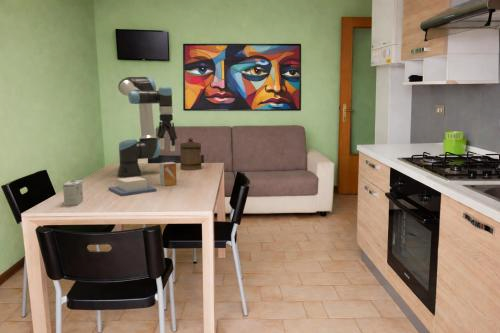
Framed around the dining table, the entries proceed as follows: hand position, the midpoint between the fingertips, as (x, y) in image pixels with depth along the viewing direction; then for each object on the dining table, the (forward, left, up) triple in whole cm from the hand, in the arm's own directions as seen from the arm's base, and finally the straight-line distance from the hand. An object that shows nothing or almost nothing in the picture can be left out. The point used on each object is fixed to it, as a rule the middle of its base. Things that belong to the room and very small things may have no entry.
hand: (167, 150), depth 280 cm
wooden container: (-43, +40, -21) cm, 62 cm away
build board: (+3, -24, -21) cm, 32 cm away
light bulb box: (+13, -59, -21) cm, 64 cm away
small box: (0, 0, -21) cm, 21 cm away
